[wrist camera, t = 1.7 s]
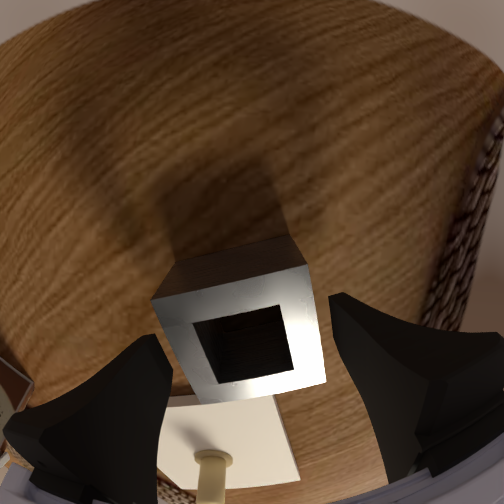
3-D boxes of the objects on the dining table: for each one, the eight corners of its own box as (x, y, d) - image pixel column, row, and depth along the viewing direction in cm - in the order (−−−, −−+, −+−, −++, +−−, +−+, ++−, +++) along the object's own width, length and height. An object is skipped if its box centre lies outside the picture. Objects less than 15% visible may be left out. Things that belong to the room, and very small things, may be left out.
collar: (289, 234, 13) (307, 264, 9) (308, 332, 15) (325, 382, 11) (175, 262, 13) (150, 300, 9) (210, 353, 15) (201, 404, 11)
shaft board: (270, 383, 16) (278, 456, 10) (299, 472, 20) (306, 517, 15) (108, 398, 16) (83, 453, 11) (182, 481, 21) (176, 523, 15)
